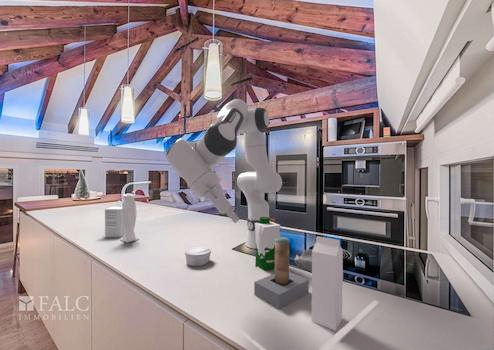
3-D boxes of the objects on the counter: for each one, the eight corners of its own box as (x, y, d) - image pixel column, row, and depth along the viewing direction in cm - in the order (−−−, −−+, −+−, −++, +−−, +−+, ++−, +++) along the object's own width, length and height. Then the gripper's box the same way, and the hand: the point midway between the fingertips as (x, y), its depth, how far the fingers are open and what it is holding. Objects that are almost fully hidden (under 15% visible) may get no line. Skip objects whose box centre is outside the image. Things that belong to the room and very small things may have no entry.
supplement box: (112, 233, 147) (112, 206, 146) (127, 232, 148) (127, 206, 147) (104, 237, 137) (104, 208, 137) (121, 237, 138) (120, 208, 138)
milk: (319, 313, 64) (320, 233, 64) (342, 322, 60) (343, 237, 60) (311, 325, 59) (311, 238, 59) (335, 335, 55) (336, 242, 55)
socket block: (284, 283, 81) (284, 269, 81) (308, 295, 73) (308, 279, 73) (254, 297, 72) (254, 281, 72) (278, 312, 64) (279, 294, 64)
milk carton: (270, 262, 100) (270, 216, 100) (282, 270, 92) (283, 219, 92) (252, 266, 96) (252, 217, 96) (263, 274, 88) (264, 222, 88)
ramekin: (205, 268, 94) (205, 255, 94) (179, 266, 96) (179, 253, 96) (214, 258, 105) (214, 246, 105) (191, 256, 107) (191, 245, 107)
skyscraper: (140, 240, 132) (140, 190, 131) (127, 244, 125) (126, 191, 125) (132, 238, 136) (132, 190, 136) (118, 241, 129) (118, 191, 129)
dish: (293, 271, 92) (293, 258, 92) (298, 258, 105) (298, 247, 105) (332, 276, 87) (332, 263, 87) (332, 263, 100) (332, 251, 100)
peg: (281, 288, 76) (281, 236, 75) (291, 293, 72) (292, 239, 72) (271, 293, 73) (271, 238, 73) (282, 298, 69) (282, 242, 69)
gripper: (214, 177, 62) (248, 216, 63) (214, 179, 82) (240, 208, 83) (195, 192, 61) (230, 232, 62) (200, 191, 81) (226, 220, 82)
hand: (235, 218), depth 73 cm, fingers open, 8 cm apart
